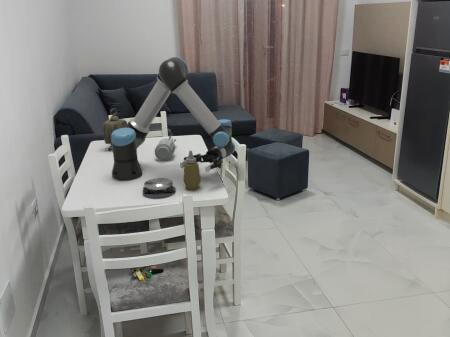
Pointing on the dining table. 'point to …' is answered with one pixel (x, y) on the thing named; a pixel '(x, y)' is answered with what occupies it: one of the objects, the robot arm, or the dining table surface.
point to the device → (165, 149)
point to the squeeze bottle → (191, 173)
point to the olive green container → (112, 127)
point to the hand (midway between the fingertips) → (193, 167)
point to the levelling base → (159, 193)
